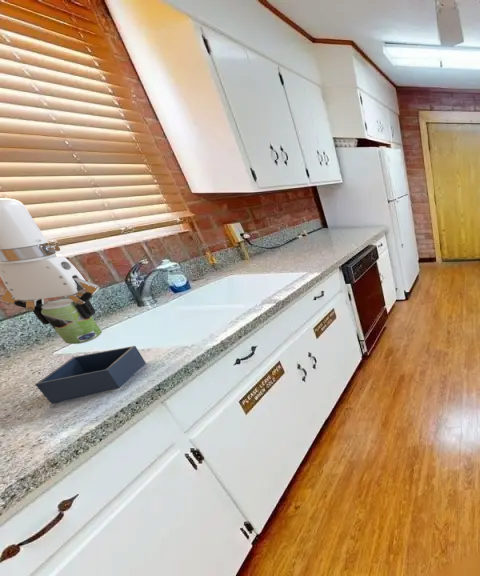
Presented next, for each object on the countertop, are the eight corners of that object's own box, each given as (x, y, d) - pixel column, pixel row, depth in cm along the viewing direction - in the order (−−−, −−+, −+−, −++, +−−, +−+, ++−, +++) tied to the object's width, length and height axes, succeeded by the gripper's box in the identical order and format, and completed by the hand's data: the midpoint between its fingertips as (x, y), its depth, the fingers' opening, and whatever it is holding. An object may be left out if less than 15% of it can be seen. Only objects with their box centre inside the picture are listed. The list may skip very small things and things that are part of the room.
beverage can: (102, 331, 84) (76, 293, 79) (107, 338, 80) (80, 299, 76) (64, 342, 79) (35, 302, 74) (68, 350, 75) (37, 309, 71)
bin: (51, 404, 75) (34, 384, 72) (87, 375, 85) (73, 356, 82) (120, 389, 80) (107, 370, 77) (146, 363, 90) (135, 345, 87)
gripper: (90, 245, 76) (127, 306, 83) (-19, 253, 69) (31, 319, 76) (68, 252, 70) (109, 318, 77) (-55, 262, 63) (3, 333, 70)
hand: (70, 318), depth 77 cm, fingers closed on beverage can, 6 cm apart
